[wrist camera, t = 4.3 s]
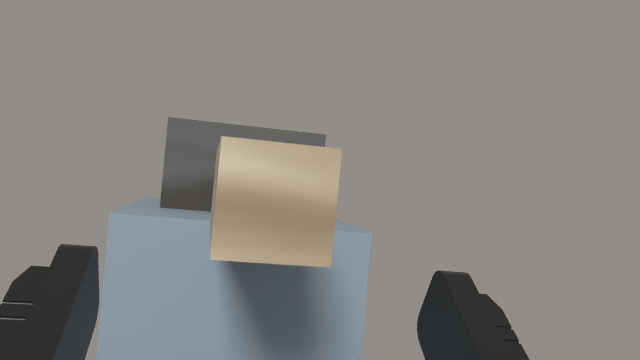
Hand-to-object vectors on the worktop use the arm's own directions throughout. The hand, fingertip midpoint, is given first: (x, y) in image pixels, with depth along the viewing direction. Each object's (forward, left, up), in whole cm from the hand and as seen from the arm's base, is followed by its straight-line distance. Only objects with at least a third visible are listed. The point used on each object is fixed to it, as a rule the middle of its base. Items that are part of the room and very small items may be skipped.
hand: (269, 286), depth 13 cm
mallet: (0, +11, 0) cm, 11 cm away
